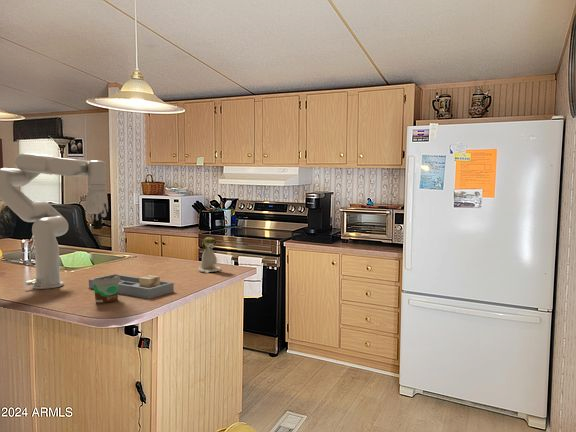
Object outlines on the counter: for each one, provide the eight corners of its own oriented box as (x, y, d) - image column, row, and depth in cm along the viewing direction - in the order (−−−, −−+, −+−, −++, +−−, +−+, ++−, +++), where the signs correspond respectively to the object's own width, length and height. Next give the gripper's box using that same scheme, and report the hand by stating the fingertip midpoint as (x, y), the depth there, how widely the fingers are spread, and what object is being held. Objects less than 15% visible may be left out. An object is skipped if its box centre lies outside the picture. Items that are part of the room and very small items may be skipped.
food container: (105, 306, 172) (104, 280, 171) (92, 304, 174) (92, 279, 174) (127, 298, 184) (127, 274, 183) (115, 297, 186) (115, 273, 185)
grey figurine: (196, 273, 236) (195, 238, 235) (200, 268, 249) (200, 235, 248) (218, 273, 236) (218, 238, 235) (222, 268, 249) (222, 235, 248)
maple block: (149, 290, 189) (149, 279, 189) (139, 289, 192) (139, 277, 192) (159, 287, 194) (159, 276, 194) (149, 286, 197) (149, 275, 197)
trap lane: (149, 298, 184) (149, 289, 183) (88, 287, 202) (88, 279, 202) (173, 291, 196) (173, 282, 196) (114, 282, 214) (114, 273, 214)
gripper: (78, 187, 200) (79, 228, 202) (101, 188, 193) (101, 231, 194) (93, 187, 207) (93, 227, 208) (115, 188, 199) (115, 229, 201)
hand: (97, 229), depth 201 cm, fingers closed
